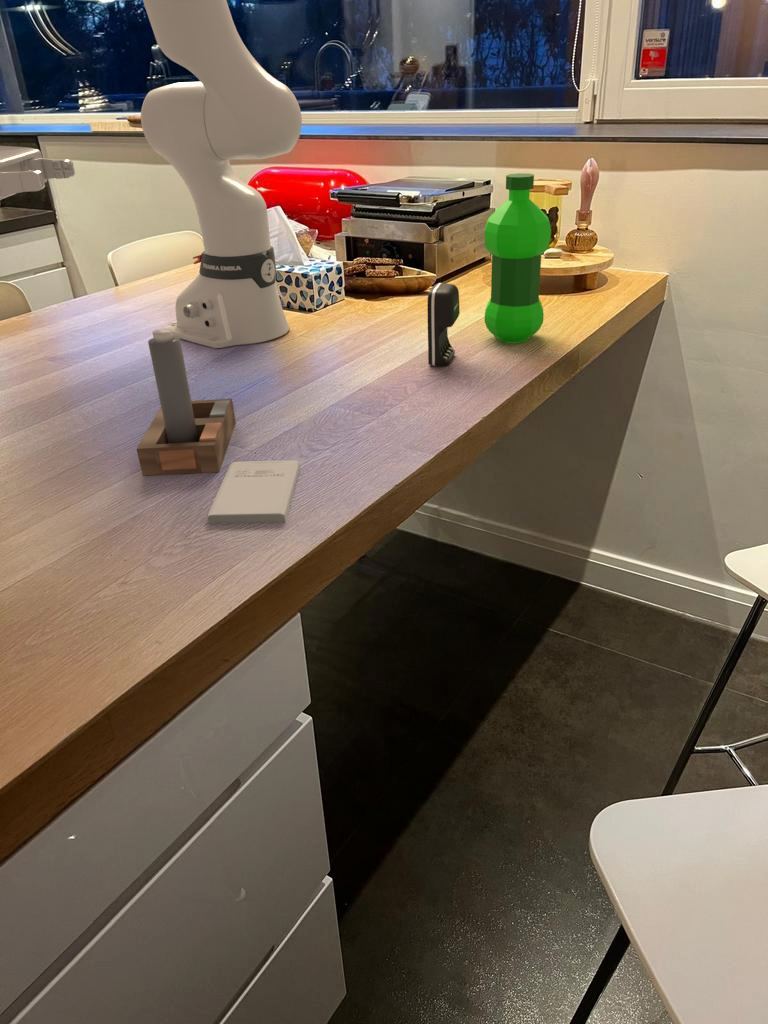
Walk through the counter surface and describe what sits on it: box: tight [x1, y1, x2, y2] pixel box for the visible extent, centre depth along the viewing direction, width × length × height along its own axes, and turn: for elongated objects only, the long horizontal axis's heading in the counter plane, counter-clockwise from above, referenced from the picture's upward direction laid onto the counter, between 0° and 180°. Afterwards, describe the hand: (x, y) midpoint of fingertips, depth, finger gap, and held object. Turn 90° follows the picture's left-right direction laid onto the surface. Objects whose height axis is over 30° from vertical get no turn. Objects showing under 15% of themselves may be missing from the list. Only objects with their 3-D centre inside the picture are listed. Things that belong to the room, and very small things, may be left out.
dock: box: [136, 398, 237, 477], centre depth 97 cm, size 14×9×4 cm, turn 1°
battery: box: [427, 282, 460, 367], centre depth 118 cm, size 7×4×11 cm, turn 165°
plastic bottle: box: [483, 172, 552, 344], centre depth 123 cm, size 10×10×25 cm
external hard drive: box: [206, 459, 301, 525], centre depth 87 cm, size 2×8×12 cm
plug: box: [147, 327, 199, 444], centre depth 91 cm, size 4×4×16 cm
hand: (57, 174), depth 82 cm, fingers open, 8 cm apart
